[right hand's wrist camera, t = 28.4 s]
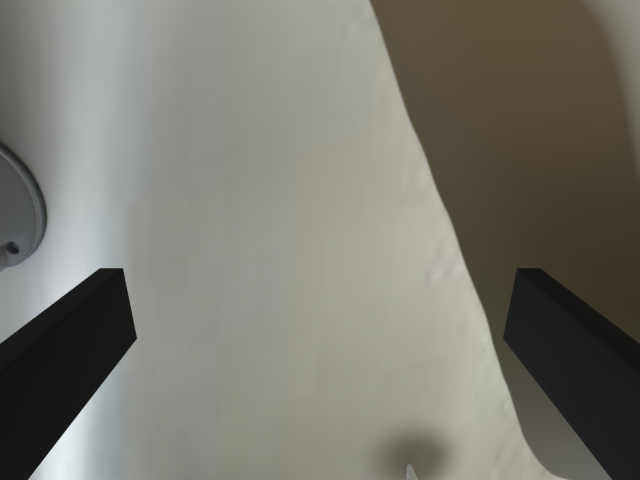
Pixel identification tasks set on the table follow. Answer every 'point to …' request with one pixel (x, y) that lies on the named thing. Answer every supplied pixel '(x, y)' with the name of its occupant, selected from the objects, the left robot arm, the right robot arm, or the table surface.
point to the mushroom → (411, 473)
